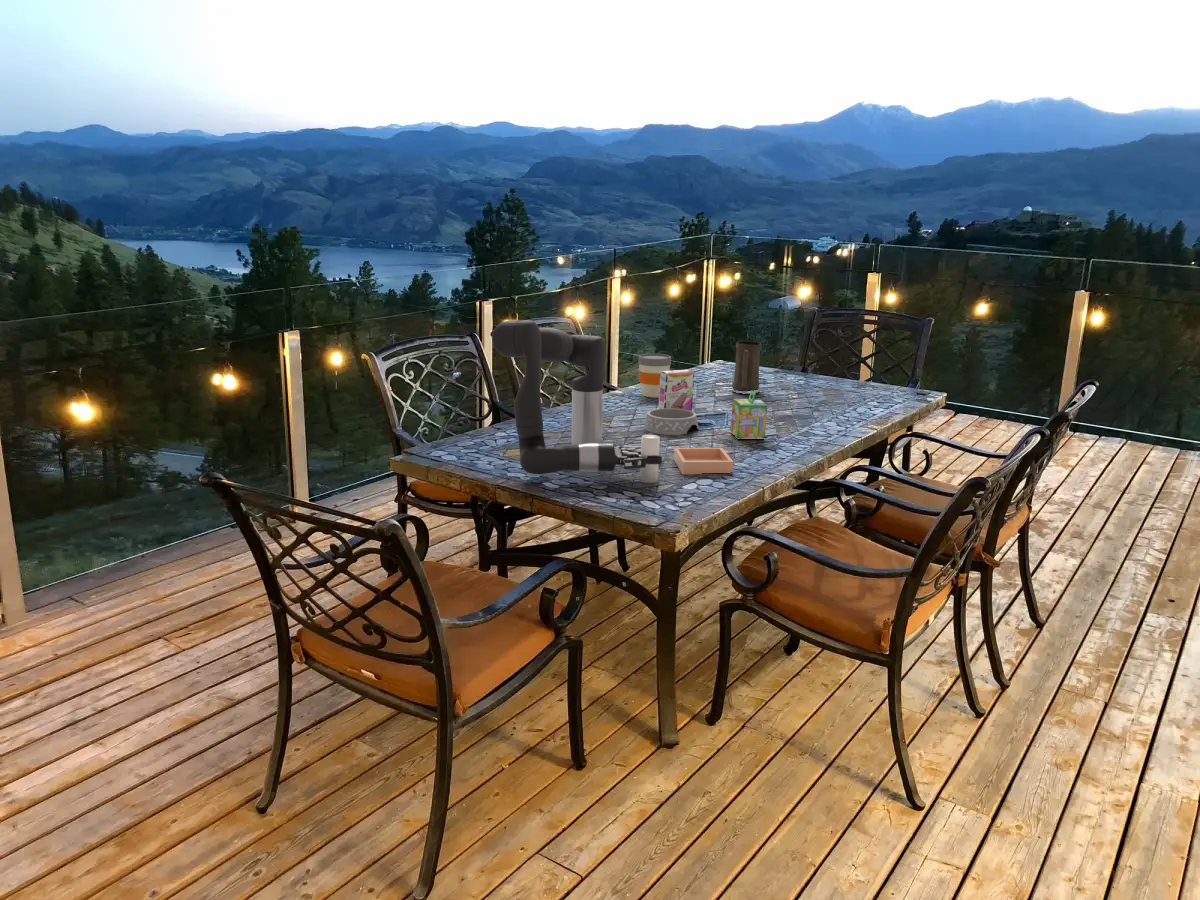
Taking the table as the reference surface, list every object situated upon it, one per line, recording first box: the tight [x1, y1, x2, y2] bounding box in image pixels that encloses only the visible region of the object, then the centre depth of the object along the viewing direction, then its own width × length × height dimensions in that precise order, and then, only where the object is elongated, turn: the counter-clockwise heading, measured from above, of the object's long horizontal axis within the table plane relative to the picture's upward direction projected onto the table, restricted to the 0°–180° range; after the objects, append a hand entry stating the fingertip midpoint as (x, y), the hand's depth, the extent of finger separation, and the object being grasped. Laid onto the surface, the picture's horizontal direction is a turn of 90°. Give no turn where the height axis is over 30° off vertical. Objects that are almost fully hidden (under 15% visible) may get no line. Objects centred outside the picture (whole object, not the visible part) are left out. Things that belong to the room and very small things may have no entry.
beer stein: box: [732, 340, 763, 391], centre depth 342 cm, size 15×11×20 cm
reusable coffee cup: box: [637, 353, 672, 398], centre depth 336 cm, size 13×13×15 cm
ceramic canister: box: [639, 434, 661, 484], centre depth 234 cm, size 5×5×12 cm
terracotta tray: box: [673, 447, 734, 475], centre depth 248 cm, size 14×14×4 cm
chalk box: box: [729, 390, 768, 438], centre depth 279 cm, size 9×9×15 cm
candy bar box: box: [657, 369, 695, 411], centre depth 301 cm, size 11×5×16 cm, turn 115°
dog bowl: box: [643, 408, 700, 436], centre depth 289 cm, size 17×18×5 cm
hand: (659, 456), depth 234 cm, fingers closed on ceramic canister, 4 cm apart
